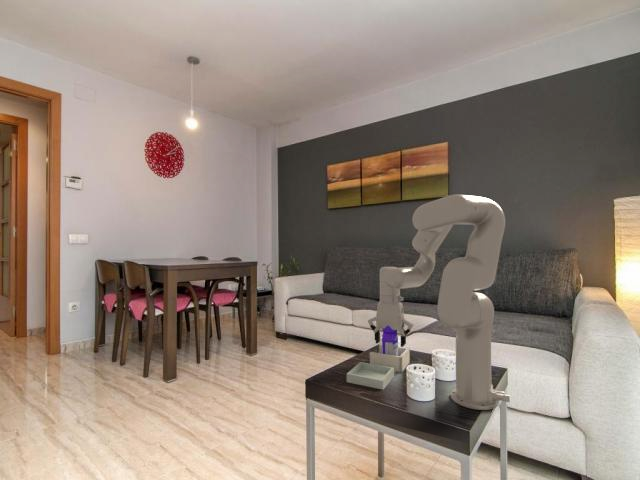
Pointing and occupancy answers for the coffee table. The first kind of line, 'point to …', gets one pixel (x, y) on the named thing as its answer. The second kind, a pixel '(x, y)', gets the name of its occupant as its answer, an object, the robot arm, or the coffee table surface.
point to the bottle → (389, 341)
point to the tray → (370, 375)
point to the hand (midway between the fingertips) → (390, 344)
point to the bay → (392, 359)
